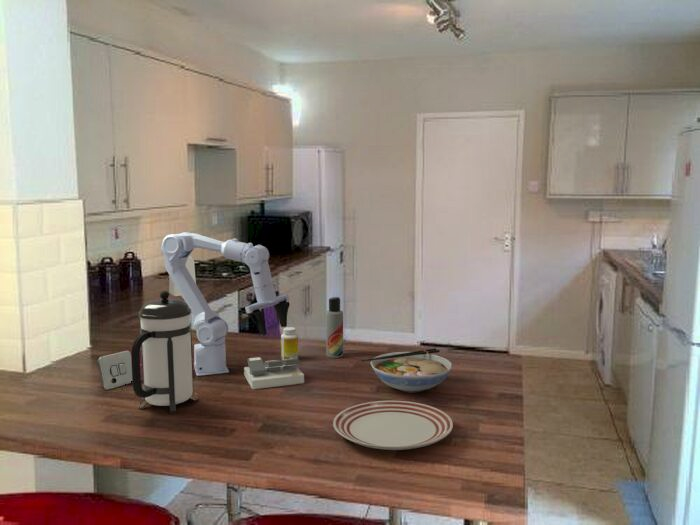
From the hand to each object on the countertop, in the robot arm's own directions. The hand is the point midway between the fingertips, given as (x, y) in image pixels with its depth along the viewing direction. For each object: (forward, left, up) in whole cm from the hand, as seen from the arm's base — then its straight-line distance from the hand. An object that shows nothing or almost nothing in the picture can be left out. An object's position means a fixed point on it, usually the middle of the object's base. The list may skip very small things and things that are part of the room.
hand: (273, 330), depth 171 cm
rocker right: (+4, -3, -10) cm, 11 cm away
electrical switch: (-45, +8, -14) cm, 47 cm away
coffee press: (-32, -14, -14) cm, 37 cm away
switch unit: (-1, -3, -14) cm, 14 cm away
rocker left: (-6, -3, -10) cm, 12 cm away
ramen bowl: (+33, -24, -14) cm, 44 cm away
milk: (-16, +149, -14) cm, 150 cm away
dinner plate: (+16, -49, -14) cm, 54 cm away
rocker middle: (-1, -3, -10) cm, 11 cm away
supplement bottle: (+8, +15, -14) cm, 22 cm away
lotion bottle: (+23, +13, -14) cm, 30 cm away
